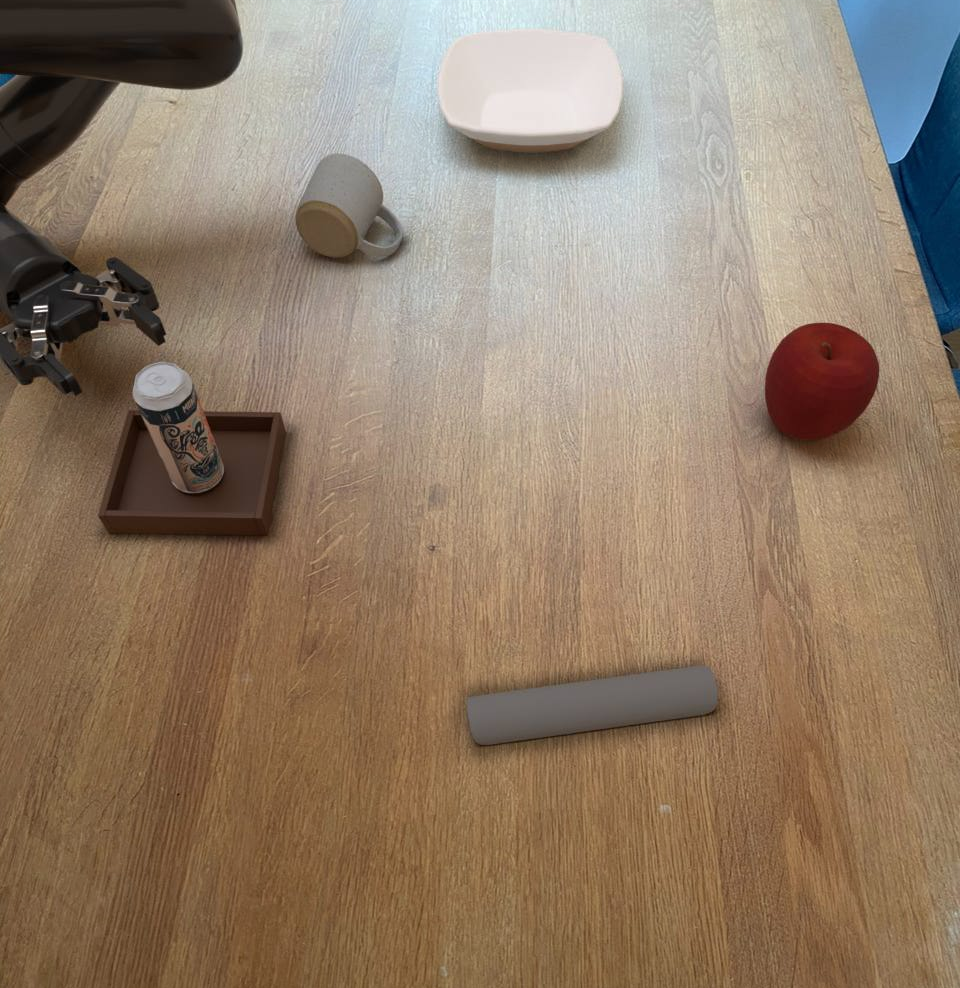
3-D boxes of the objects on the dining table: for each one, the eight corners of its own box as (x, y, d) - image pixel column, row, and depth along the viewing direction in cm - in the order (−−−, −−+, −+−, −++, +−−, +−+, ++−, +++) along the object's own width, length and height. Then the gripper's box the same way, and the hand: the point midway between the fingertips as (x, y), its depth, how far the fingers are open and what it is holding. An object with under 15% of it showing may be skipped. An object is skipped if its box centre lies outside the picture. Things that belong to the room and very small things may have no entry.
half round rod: (718, 713, 74) (723, 703, 72) (471, 747, 72) (471, 738, 71) (703, 666, 76) (708, 655, 74) (464, 698, 75) (463, 688, 73)
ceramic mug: (296, 257, 102) (284, 193, 95) (322, 210, 106) (312, 145, 99) (390, 274, 100) (384, 211, 94) (412, 226, 104) (408, 162, 98)
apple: (823, 377, 92) (857, 294, 83) (873, 448, 87) (915, 368, 79) (735, 399, 91) (760, 317, 82) (780, 473, 86) (813, 394, 77)
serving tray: (108, 533, 83) (97, 515, 81) (137, 429, 89) (128, 409, 87) (267, 536, 83) (261, 518, 81) (285, 431, 89) (280, 412, 87)
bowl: (444, 70, 120) (442, 27, 115) (615, 72, 119) (620, 29, 114) (433, 176, 109) (431, 132, 104) (621, 179, 108) (627, 135, 103)
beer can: (202, 504, 84) (161, 409, 74) (161, 483, 85) (115, 387, 75) (236, 469, 86) (201, 371, 76) (195, 448, 87) (156, 350, 77)
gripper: (102, 268, 92) (198, 352, 86) (-29, 341, 88) (63, 435, 82) (72, 200, 86) (174, 286, 80) (-71, 274, 81) (26, 371, 75)
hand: (118, 361), depth 81 cm, fingers open, 8 cm apart
